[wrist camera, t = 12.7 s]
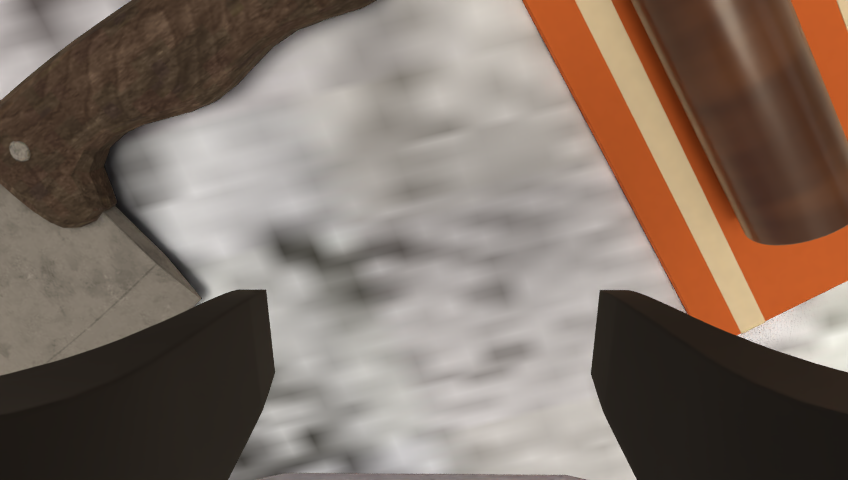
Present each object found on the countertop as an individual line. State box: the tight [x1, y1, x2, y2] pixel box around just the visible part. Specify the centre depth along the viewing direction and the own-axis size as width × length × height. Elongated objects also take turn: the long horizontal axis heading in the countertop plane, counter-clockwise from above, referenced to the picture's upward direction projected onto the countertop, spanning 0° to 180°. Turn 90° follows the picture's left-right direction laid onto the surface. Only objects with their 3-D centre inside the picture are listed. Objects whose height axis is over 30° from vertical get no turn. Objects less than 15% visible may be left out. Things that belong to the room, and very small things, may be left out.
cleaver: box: [0, 0, 377, 376], centre depth 20 cm, size 29×10×2 cm, turn 128°
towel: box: [522, 0, 848, 335], centre depth 18 cm, size 20×11×1 cm, turn 32°
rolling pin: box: [631, 0, 848, 245], centre depth 16 cm, size 11×4×4 cm, turn 33°
